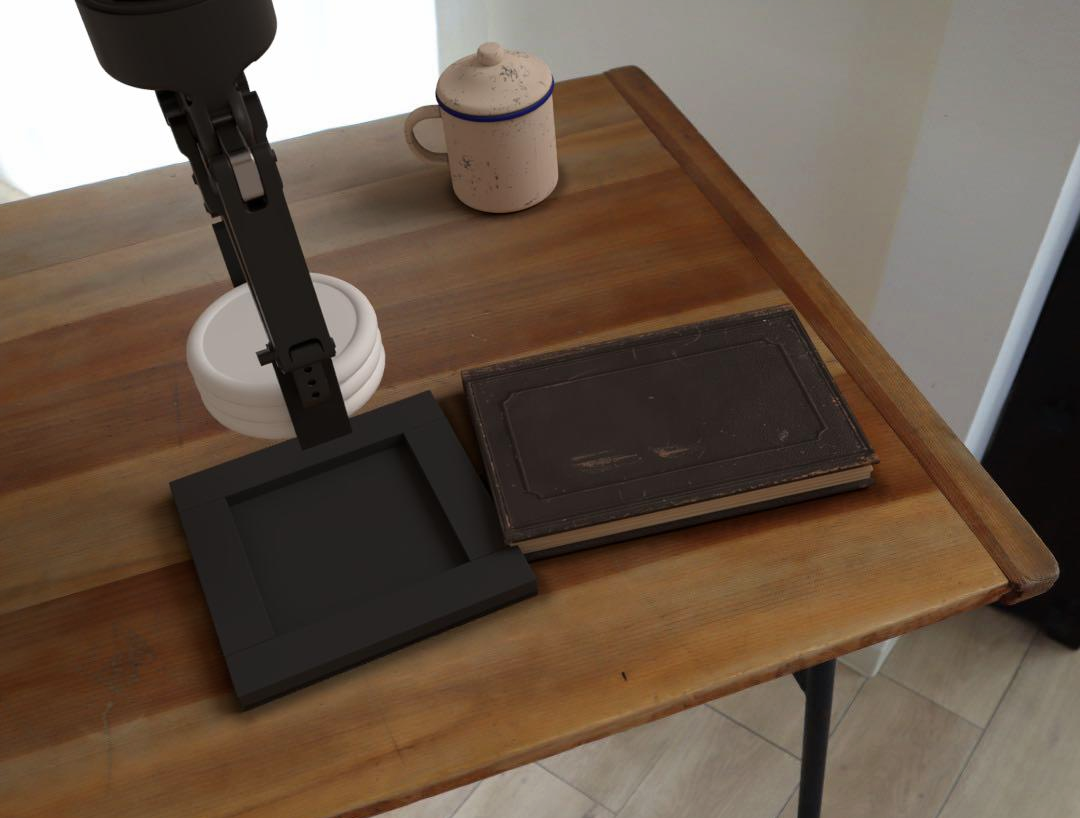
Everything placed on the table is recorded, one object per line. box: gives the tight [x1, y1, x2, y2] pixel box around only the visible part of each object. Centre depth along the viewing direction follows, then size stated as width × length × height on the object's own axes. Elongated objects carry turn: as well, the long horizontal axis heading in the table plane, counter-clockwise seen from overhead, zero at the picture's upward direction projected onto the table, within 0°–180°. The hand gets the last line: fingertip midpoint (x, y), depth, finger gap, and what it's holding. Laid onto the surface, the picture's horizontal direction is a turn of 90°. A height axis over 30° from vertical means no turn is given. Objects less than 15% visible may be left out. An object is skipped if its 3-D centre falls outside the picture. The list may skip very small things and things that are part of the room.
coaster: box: [185, 271, 386, 440], centre depth 62 cm, size 10×10×4 cm
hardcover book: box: [460, 302, 881, 562], centre depth 76 cm, size 16×23×2 cm
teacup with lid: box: [403, 41, 559, 214], centre depth 92 cm, size 12×9×12 cm
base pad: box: [168, 389, 540, 712], centre depth 72 cm, size 18×18×2 cm
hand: (296, 374), depth 63 cm, fingers closed on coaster, 10 cm apart
